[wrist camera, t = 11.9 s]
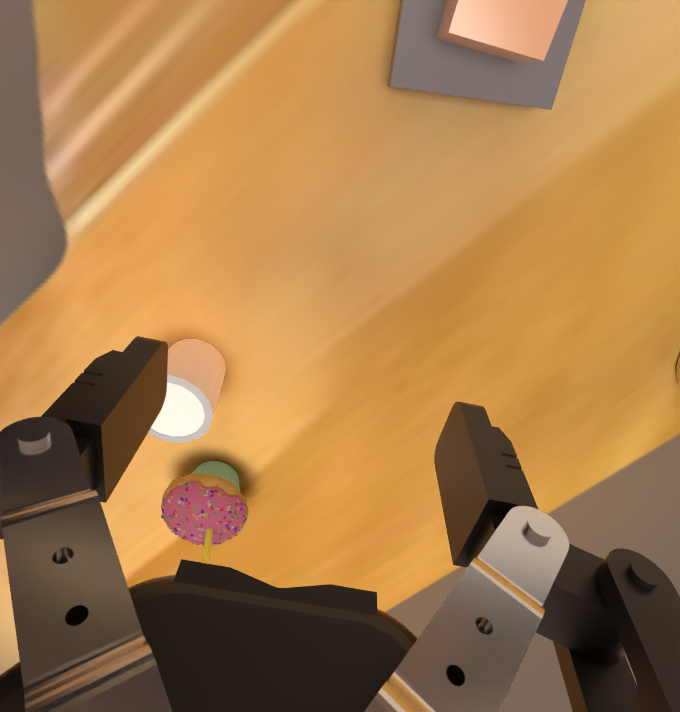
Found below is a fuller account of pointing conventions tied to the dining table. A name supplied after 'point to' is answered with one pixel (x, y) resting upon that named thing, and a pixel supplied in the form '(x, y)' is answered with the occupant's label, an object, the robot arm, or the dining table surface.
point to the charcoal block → (475, 60)
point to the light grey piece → (190, 391)
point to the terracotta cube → (502, 26)
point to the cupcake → (205, 506)
